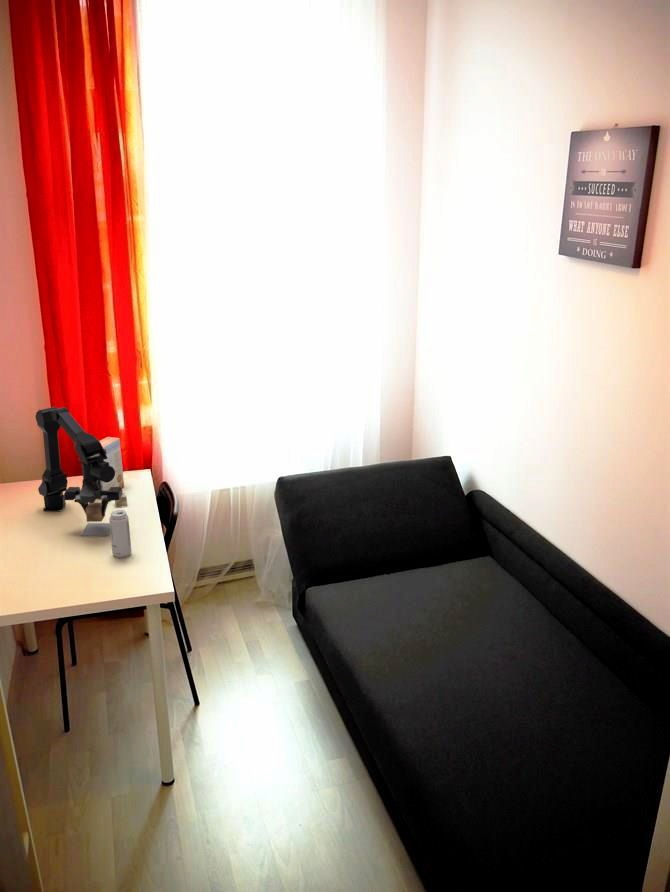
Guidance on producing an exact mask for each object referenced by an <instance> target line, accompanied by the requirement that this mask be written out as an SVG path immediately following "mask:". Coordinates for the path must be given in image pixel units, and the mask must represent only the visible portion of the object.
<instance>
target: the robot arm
mask: <svg viewBox="0 0 670 892" xmlns="http://www.w3.org/2000/svg"><path fill="white" fill-rule="evenodd" d="M35 420H36V423H37V426H38V428H39V429H40V430H41V431H42V434H43V435H42V436H43V445H44V447H43V448H44V457H45V460H44V461H45V470H44V471H43V474H42V476H41V477H42V478H41V483H40V485H39V487H38V489H37V491H38V493H39V495H40V496H42V497H43V502H44V508H43V512H61V511H62V510H63V508H65V506H66V505H67V503H66V501H74V503H78V504H79V505H80V506H81V507H82V510H83V511H84V513H85V514H86V507H87V506H88V504H89V503H94V502H96V501H97V500H98V499H99V498H101V496H103V499H101V501H100V502H101V503H102V515H103V516H104V515H105V516H106V511H107V508H108V504H109V503H111V501H115V500H119V499H120V498H121V496H122V494H123V493H124V492H123V491H124V490H123V487H122V488H121V487H110V489H109V490H102V485H101V481H103V482H105V483H107V482H110V481H112V480H113V478H114V476H115V470H114V468H113V467H111V466H109V462H105V461H104V460H105V459H107V456H106V452H105V450H104V449H103V447H102V445H101V443H100V442H99V441H100V440H99V439H98V438H97V437H96V436H94V435H93V434H92V433H88V432H86V431H85V430H84V429H83V428H82V426H81V425H80V424H79V423H78V422H77V421H76V419H75V418H74V417H73V416H72V415H71V413H70V411H69V409H68V408H67V407H57V406H52V407H48V408H47V407H46V408H42V409H38V411H37V412H36V413H35ZM60 428H62V430H63V431H64V432H65V433H66V434H67V436H68V437H69V438H70V439H71V440H72V441H73V443H74V450H75V451H76V454H77V455H78V456H79V457H78V461H80V462H81V470H82V477H83V478H82V481H81V482H82V485H81V487H80V486H68V484H69V482H68V478H67V477H68V475H67V473H65V472H64V470H62V468H61V458H60V445H59V433H58V432H59V430H60ZM97 454H100V455H98V456H95V457H92V456H94V455H97Z"/></svg>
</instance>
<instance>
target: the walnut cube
mask: <svg viewBox="0 0 670 892" xmlns="http://www.w3.org/2000/svg"><path fill="white" fill-rule="evenodd" d="M85 515H86V522H87V523H98V522H99V523H102V521H103V519H104V518H105V517H106V514H105V515H104V516H103V515H102V503H101V501H100V502H96V501H95V502H94V503H88V506H87V507H86V513H85Z"/></svg>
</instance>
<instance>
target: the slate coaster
mask: <svg viewBox="0 0 670 892" xmlns="http://www.w3.org/2000/svg"><path fill="white" fill-rule="evenodd" d="M109 533H110V522H99V523H98V522H87V524H86V526H85V527H84V529H83V530H82V532H81V533H80V536H81V537H107V536H108V535H109Z"/></svg>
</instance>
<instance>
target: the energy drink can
mask: <svg viewBox="0 0 670 892" xmlns="http://www.w3.org/2000/svg"><path fill="white" fill-rule="evenodd" d="M129 519H130V518H129V515H128V514H127V512H126V510H122V509H118V510H113V511H112V512H110V516H109V518H108V520H109V522H108V523H110V532H109V533H110V541H111V542H110V543H111V551H112V555H113V556H114V557H115V558H116V559H124V558H128V557H129V556H130V555H131V553H132V545H131V543H132V542H131V533H130V532H131V531H130V522H129Z"/></svg>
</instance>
